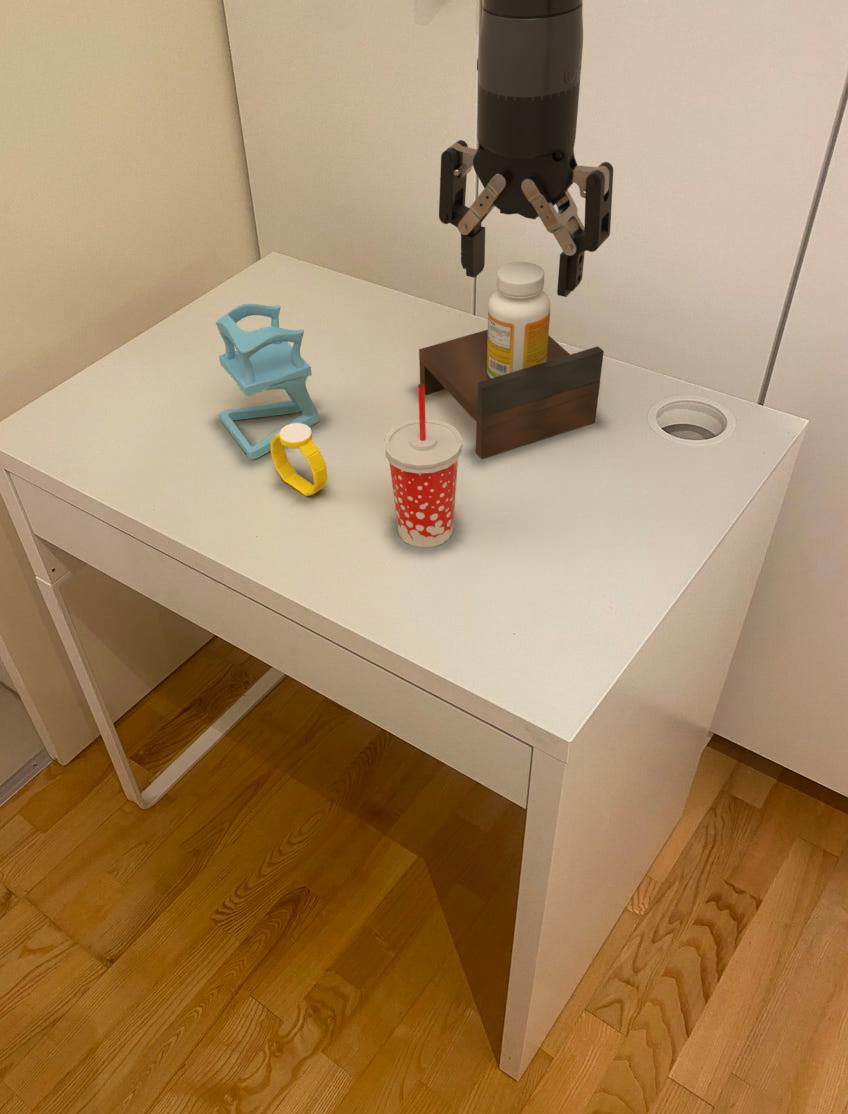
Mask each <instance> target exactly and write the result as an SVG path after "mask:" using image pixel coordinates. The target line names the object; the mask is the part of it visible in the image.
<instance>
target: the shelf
mask: <svg viewBox="0 0 848 1114" xmlns="http://www.w3.org/2000/svg"><path fill="white" fill-rule="evenodd" d="M487 342H488V329H485V330H481V331H477V332H474V333H470V334H466V335H463V336H460V337H457V338H453V339H449V340H446V341H443V342H439V343H437V344H433V345H429V346H426V347H422V348H419V349H418V360H419V384H424V385H425V396H428V395H431V394H435V393H438V392H441V391H444V390H446V391H447V392H448V393H449V394H450V395H451V397H452V398H454V400H455V401H456V402H457V403H458V404H459V405H460V406H461V407H462V409H463V410H464V411H465V412H466V413H467V415H469V417H471V418H472V419H473V421H474V422H475V454H476V455H477V456H478V457H479V458H480V459H481V460H483V459H487V458H490V457H492V456H496V455H499V454H502V453H505V452H508V451H511V450H514V449H517V448H520V447H523V446H527V445H530V444H532V443H535V442H540V441H542V440H545V439H548V438H551V437H555V436H557V435H561V434H564V433H567V432H569V431H570V432H571V431H573V430H576V429H580V428H582V427H586V426H589V425H592V424H595V423H596V420H597V413H598V412H597V411H598V402H599V395H600V387H601V378H602V369H603V361H604V350H603V349H602V348H601V347H600V346H594V347H591V348H587V349H584V350H580V351H577V352H574V353H569V351H568V350H566V348H564V347H563V346H561V345H560V344H559V343H558V342H557V341H556V340H555V339H554V338H552V336H550V334H548V348H547V362H544V363H541V364H538V365H534V366H531V367H528V368H524V369H521V370H518V371H514V372H511V373H508V374H505V375H501V376H498V377H495V378H490V377H489V375H488V373H487Z"/></svg>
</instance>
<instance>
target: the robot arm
mask: <svg viewBox="0 0 848 1114" xmlns="http://www.w3.org/2000/svg"><path fill="white" fill-rule="evenodd" d="M481 1H482V2H481V4H482V8H481V18H480V19H481V20H480V28H479V35H478V47H477V48H478V49H477V59H476V71H477V114H476V115H477V116H476V117H477V119H476V120H477V121H476V122H477V124H476V125H477V126H476V131H477V132H476V138H477V142H478V146H477V149H476V148H472V147H469V145H468V143H467V142H466V141H465V140H463V139H459V140H457V141H456V142H454V143H452V145H450V146H449V147H447V149H445V150H444V151H443V152H442V153H441V156H440V175H439V178H440V179H439V200H438V201H439V202H438V218H439V219H438V220H439V221H440V222H441V223H442V224H444V225H448V224H450V225H453V226H454V227H455V228H457V230H458V232H459V233H460V263H461V266H462V269H464V270H465V275H466V277H468V278H474V279H475V278H477V276H479V275H480V274H481V273H482V272H483V270H484V269H485V264H486V263H485V262H486V226H483V225H482V223H483V222H484V220H485V219H486V218H487V216H488V215H490V213H491V212H492V211H493V209H494V208H496V209H498V210H499V213H500V214H503V215H508V216H509V215H520V216H521V217H524V218H525V219H530V220H536V219H537V218H539V219H540V221H541V222H542V224H543V226H544V228H545V229H546V231H547V232H548V233H550V234H552V235H553V236H554V239H556V241H557V243H558V245H559V247H560V249H561V251H562V252H561V253H560V254H559V263H558V274H557V275H558V276H557V289H556V293H557V296H559V297H564V298H567V297H568V296H569V295H570V294H571V293H572V292H573V291H574V290H575V289H576V288H577V287H578V286H579V285H580V284H581V282H582V280H583V275H584V274H583V273H584V262H585V254H586V253H585V252H590V253H593V252H596V251H597V250H598V249H599V248H600V247H601V246H602V245H603V244H604V242H606V240H607V239H609V237H610V236H611V224H612V203H613V187H614V185H613V184H614V167H613V165H612V164H611V163H610V162H608V161H603V162H601V163H600V164H599V165H598V166H589V165H579V164H578V162H577V160H576V156H575V143H576V136H577V125H578V113H579V112H578V111H579V102H580V101H579V99H580V87H581V74H582V64H583V63H582V62H583V61H582V60H583V50H584V20H583V18H584V17H583V5H584V4H583V0H481ZM472 168H473V170H474V172H475V174H476V176H477V177H478V179H479V181H480V183H481V185H482V186H483V188H484V189H483V190H482V191H481V192H480V193H479V195H478V196H477V197H476V199H475V200H474V201H473V203H472V204H471V205H470V207H468V206H467V205H466V195H467V177H468V174H469V173H470V172H471V171H472ZM573 184H576V185H577V186H578V189H579V195H580V197H581V198H583V199H585V200H584V201H585V202H584V205H585V206H584V224H583V222H582V221H581V218H580V216H579V215H578V206H577V204H576V202H575V201H574V199H573V197H572V195H571V194H570V192H569V189H570V187H572V185H573ZM555 206H556V207H557V210H556V208H555Z"/></svg>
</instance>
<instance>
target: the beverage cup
mask: <svg viewBox="0 0 848 1114" xmlns="http://www.w3.org/2000/svg"><path fill="white" fill-rule="evenodd" d="M417 388H418V391H417V392H418V395H417V396H418V419H412V420H409V421H406V422H402V423H399V424H398V425H397V426H394V427H393V428H392V429H390V430H389V431H388V433H387V434H386V436H385V438H384V439H383V442H384V454H385V458H386V459H387V461H388V463H389V469H390V470H389V471H390V476H391V484H392V492H393V498H394V506H395V514H396V523H397V530H398V535H399V537H400V539H402V541H403V542H404V543H406V544H408V545H409V546H412V547H416V548H420V549H421V548H422V549H423V548H433V547H436V546H437V547H438V546H439V545H442V544H444V543H445V542H446V541H448V540H450V538H451V536H452V534H453V531H454V517H455V507H456V506H455V505H456V493H457V477H458V465H459V458H460V456H461V454H462V451H463V450H462V448H463V439H462V434H461V433H460V432H459V431H458V429H456V427H455V426H453V425H451V424H449V423H447V422H444V421H443V420H436V419H430V418H426V395H425V385H424V384H420V383H419V384H418V385H417Z"/></svg>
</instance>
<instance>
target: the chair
mask: <svg viewBox="0 0 848 1114" xmlns="http://www.w3.org/2000/svg"><path fill="white" fill-rule="evenodd" d="M280 312H281V305H265V304H264V305H263V304H257V303H243V304H240V305H238V306H236V307H234V308H233V309H231V310H230V311H228V312H227V313H225V314H224V315H223V316H222V317H220V318H219V319H217V320H216V321H215V325H216V327H217V330H218V331H219V334H220V337H221V339H222V341H223V343H224V346H225V353H224V354H221V355H218V358H219V363H220V366H221V367H222V368H223V369H224V370H225V372H226V373H227V374H228V375H229V376H230V377H231V378H232V379H233V380H234V382H235V384H236V385H237V386H238V387H239V390H241V392H242V393H243V394H244V395H245V397H250V396H253V395H256V394H259V393H262V392H264V391H273V390H282V391H283V390H284V392H286V394H287V395H288V397H289V399H290V400H285V401H280V402H274V403H266V404H259V405H252V406H245V407H238V408H233V409H227V410H224V411H222V412H220V418H221V422H222V424H223V425H224V427H225V428H226V429H227V431H228V432H229V433H230V434H231V436H232V437H233V439H234V440H235V441H236V442H237V444H238V445H239V447H241V450H242V451H243V452H244V453H245V455H246V456H247V457H248V458H249V459H250V460H256V459H258V458H260V457H262V456H264V455H266V454H267V453H269V452H271V445H270V443H271V440H272V439H273V437H274V435H276V434H277V433H279V432H280V431H281V429H282V428H283V427H285V426H287V425H289V424H293V423H301V424H305V425H307V426H308V427H311V426H313V425H315V424H317V423H318V422H320V416H319V412H318V410H317V408H316V406H315V404H314V402H313V400H312V398H311V396H310V394H309V391H308V388H307V383H306V382H307V380H308V379H307V378H308V377H310V376H312V374H313V373H312V366H310V365H309V363H308V362H307V361H306V360H305V359H304V358H303V357H302V356H301V346H302V342H303V337H304V333H305V330H304V329H288V328H284V327H283V328H282V327H280V321H279V320H280V319H279V318H280V317H279V315H280ZM250 316H262V317H267V318H269V319H271V321H270V323H271V325H270V326H264V327H260V328H258V329H254V330H251V331H245V330H243V329H242V328H241V327H240V326H238V325H237V323H238V322H240V321H242V319H245V318H247V317H250ZM290 343H293V345H291V344H290ZM300 412H301V413H302V414H301V415H299V416H297V417H296V418H294V419H293V420H291V421H290V422H289V423H287V424H285V425H284V426H282V427H281V428H280V429H278V430H276V431H275V432H273V433H272V434H271V435H269V436H268V437H266V438H264V439H263V440H262V441H260V442H259V443H257V444H255V445H251V444H250V442H249V441H248V439H247V438H246V437H245V435H244V433H242V431H241V430H240V428H239V427H238V425H236V423H235V421H239V420H248V419H256V418H264V417H265V418H266V417H274V416H281V415H282V416H283V415H289V414H295V413H300Z"/></svg>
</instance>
